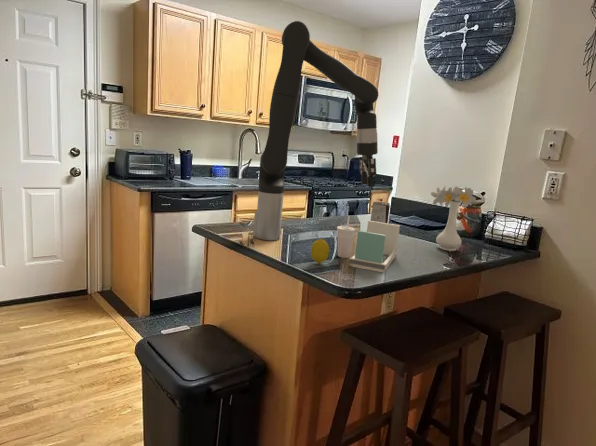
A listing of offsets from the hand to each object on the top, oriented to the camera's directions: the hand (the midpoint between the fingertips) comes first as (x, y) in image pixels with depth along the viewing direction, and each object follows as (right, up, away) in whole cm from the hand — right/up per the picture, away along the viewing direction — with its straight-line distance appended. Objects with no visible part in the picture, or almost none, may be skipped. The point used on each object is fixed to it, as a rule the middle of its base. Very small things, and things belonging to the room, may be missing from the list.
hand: (367, 185), depth 160 cm
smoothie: (-11, -25, -17) cm, 32 cm away
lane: (-1, -26, -18) cm, 32 cm away
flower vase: (+32, -24, +9) cm, 41 cm away
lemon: (-20, -27, -28) cm, 44 cm away
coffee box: (+4, -23, +5) cm, 23 cm away
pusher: (-5, -27, -28) cm, 39 cm away
